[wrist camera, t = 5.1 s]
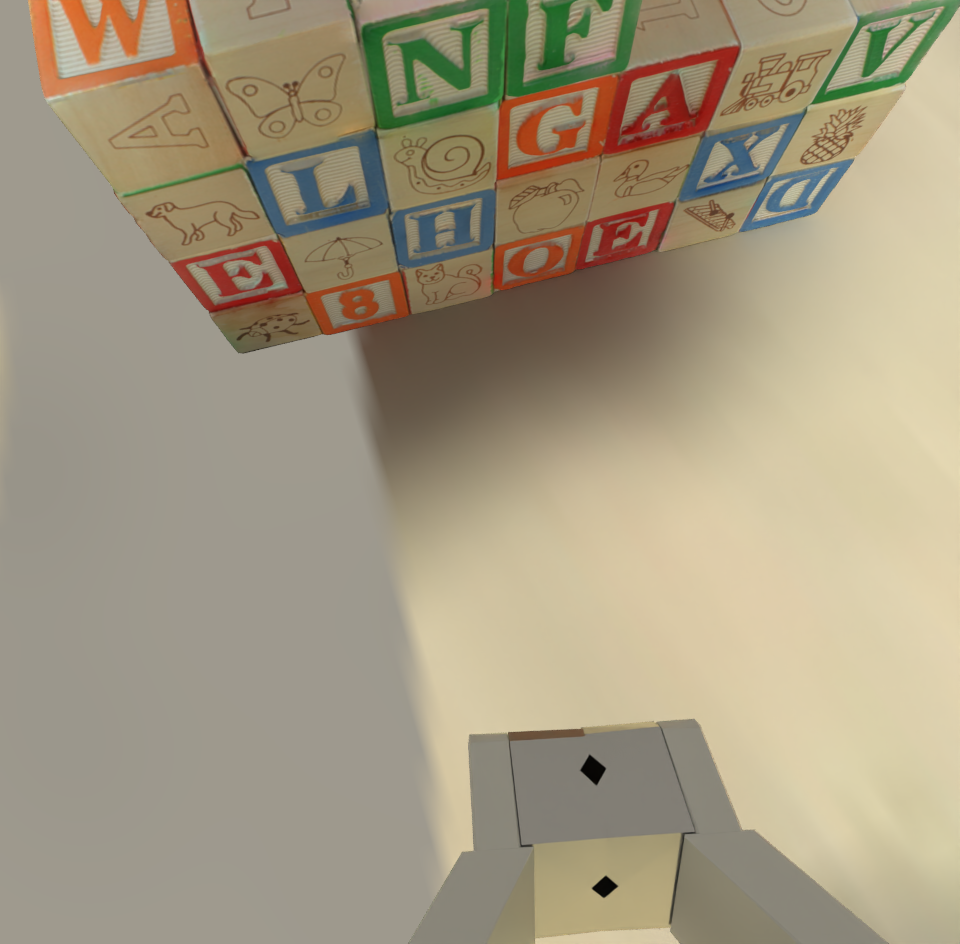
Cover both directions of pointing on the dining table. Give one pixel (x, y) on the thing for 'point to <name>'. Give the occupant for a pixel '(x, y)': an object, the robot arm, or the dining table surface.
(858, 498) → the dining table surface
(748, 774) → the dining table surface
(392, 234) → the stack of blocks
